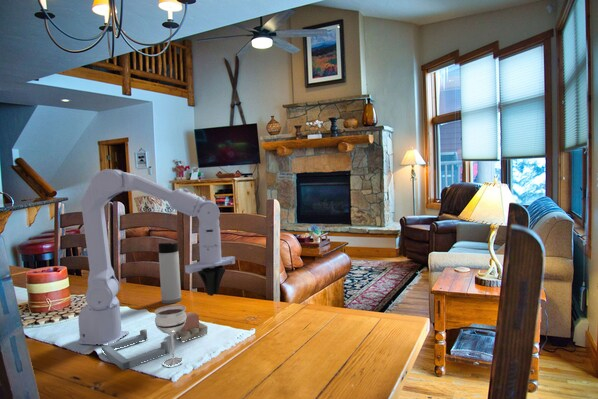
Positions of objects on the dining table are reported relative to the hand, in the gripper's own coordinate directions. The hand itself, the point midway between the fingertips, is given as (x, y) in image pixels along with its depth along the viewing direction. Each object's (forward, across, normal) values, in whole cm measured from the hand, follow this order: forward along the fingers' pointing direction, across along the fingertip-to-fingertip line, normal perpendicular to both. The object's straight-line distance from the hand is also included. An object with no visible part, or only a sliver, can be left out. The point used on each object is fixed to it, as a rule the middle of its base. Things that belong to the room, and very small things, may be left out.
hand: (212, 294), depth 111 cm
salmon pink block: (+7, -8, 0) cm, 10 cm away
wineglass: (+9, -18, -12) cm, 23 cm away
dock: (+9, -21, 0) cm, 23 cm away
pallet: (+9, -8, 0) cm, 12 cm away
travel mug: (+9, +3, +30) cm, 32 cm away
